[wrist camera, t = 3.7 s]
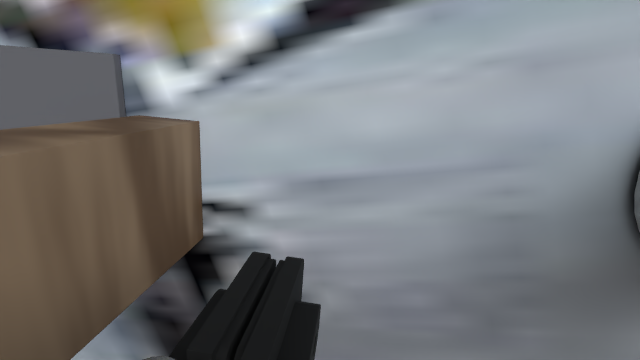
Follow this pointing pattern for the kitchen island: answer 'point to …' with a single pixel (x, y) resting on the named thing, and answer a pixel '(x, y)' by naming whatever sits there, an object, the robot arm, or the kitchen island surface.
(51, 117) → the charcoal mat
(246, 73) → the kitchen island surface
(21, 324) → the brown wooden block
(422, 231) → the kitchen island surface
